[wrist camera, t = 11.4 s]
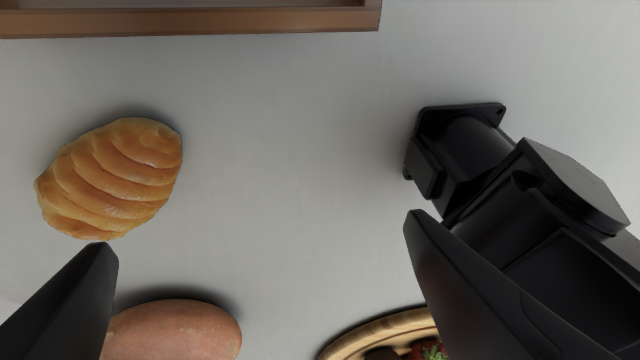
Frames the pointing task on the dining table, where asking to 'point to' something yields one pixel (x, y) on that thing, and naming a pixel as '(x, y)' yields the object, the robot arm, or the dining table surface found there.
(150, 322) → the ceramic jug
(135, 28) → the wooden box
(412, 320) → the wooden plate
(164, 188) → the pastry
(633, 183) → the dining table surface
